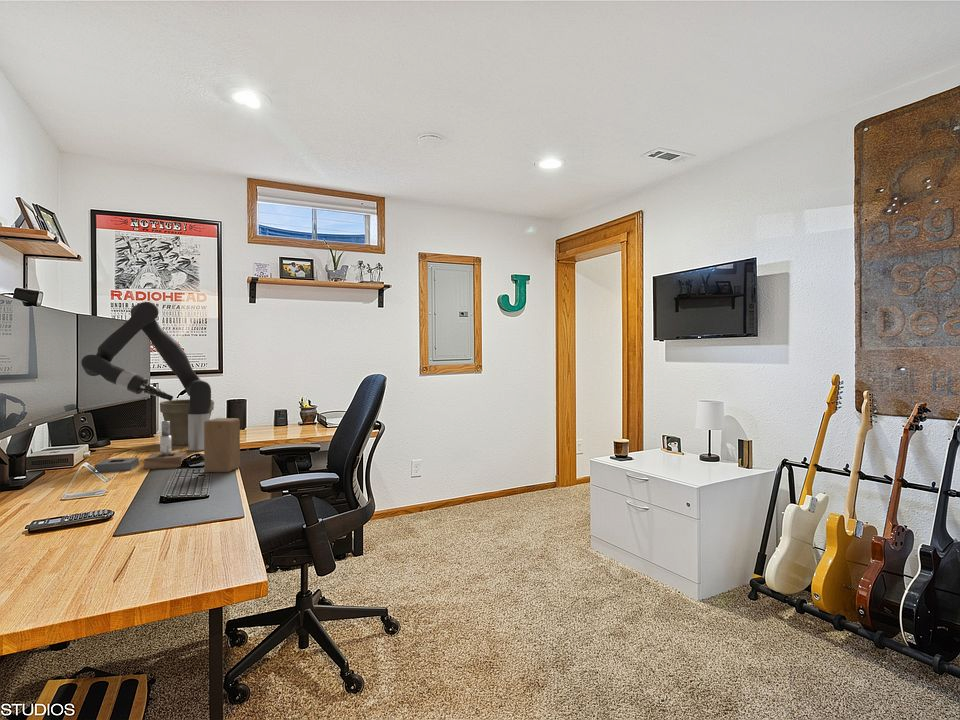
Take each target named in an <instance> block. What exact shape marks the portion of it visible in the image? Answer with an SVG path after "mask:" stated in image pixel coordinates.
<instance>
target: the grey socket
mask: <svg viewBox="0 0 960 720" xmlns="http://www.w3.org/2000/svg"><path fill="white" fill-rule="evenodd" d="M139 458H140V457H120V458H117V457H116V458H104V459H102V460H100V461H99V462H96V463H95V464H94V470H95V469H96V470H97V471H98V472H97V473H106V472H107V473H108V472H124V471H132V470H133V469H134V468H136V467H137V466H139V462H140V461H139V460H140V459H139Z"/></svg>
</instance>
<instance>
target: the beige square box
mask: <svg viewBox="0 0 960 720" xmlns="http://www.w3.org/2000/svg"><path fill="white" fill-rule="evenodd" d="M187 452H188V451H177V452H176V451H175V452H172V456H166V457H160V453H159V452H157V453H155V452H154V453H151V454H149V455H148V456H146V457H145V458H144V459H143V469H144V470H154V469H170V468H171V469H172V468H180V467H179V466H181V464H182V461H183V460H184V459H186V458H187V459H188V455H187V454H188V453H187Z"/></svg>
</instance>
